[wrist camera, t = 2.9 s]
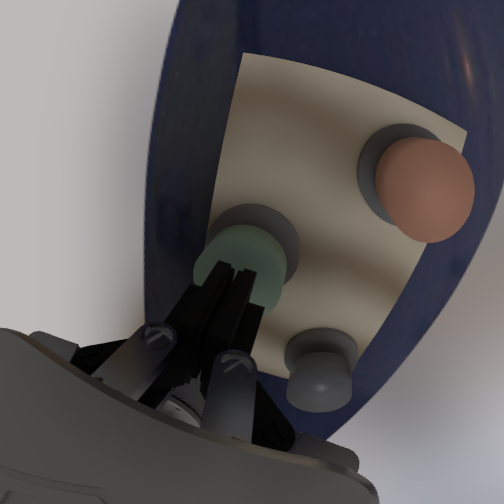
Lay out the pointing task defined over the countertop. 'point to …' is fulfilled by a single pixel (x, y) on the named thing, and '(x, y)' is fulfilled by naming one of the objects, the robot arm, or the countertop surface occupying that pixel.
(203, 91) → the countertop surface
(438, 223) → the terracotta button
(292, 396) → the charcoal button
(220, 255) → the green button
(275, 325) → the button panel
